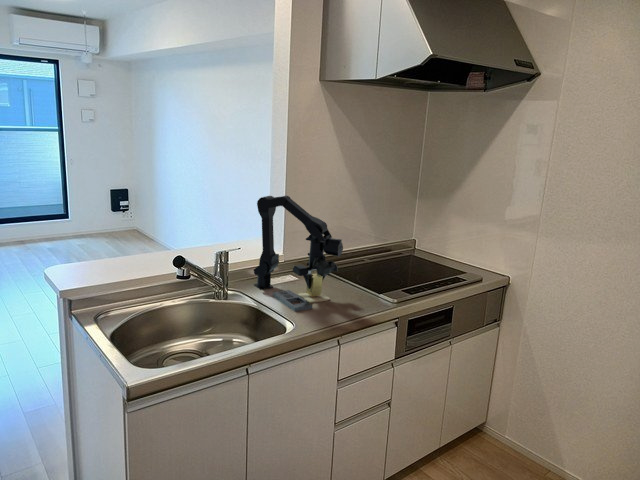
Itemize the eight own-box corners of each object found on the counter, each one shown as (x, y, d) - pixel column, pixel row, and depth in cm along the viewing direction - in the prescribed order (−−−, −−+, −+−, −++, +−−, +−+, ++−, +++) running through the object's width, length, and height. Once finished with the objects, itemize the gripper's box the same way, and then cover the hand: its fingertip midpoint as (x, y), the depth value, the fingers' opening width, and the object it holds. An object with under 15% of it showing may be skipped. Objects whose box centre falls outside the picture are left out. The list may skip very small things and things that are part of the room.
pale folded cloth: (296, 295, 206) (297, 293, 206) (316, 291, 212) (316, 290, 212) (309, 303, 198) (309, 302, 198) (329, 299, 204) (330, 298, 204)
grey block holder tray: (272, 296, 203) (272, 292, 203) (289, 293, 208) (289, 289, 207) (294, 311, 189) (294, 307, 189) (312, 308, 193) (312, 304, 193)
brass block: (306, 292, 205) (307, 274, 203) (315, 291, 208) (316, 273, 206) (312, 296, 202) (313, 277, 200) (321, 294, 204) (322, 276, 202)
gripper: (307, 259, 189) (305, 297, 193) (346, 255, 199) (343, 291, 203) (293, 251, 198) (290, 288, 202) (331, 248, 208) (328, 282, 212)
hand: (313, 288), depth 204 cm, fingers closed on brass block, 4 cm apart
